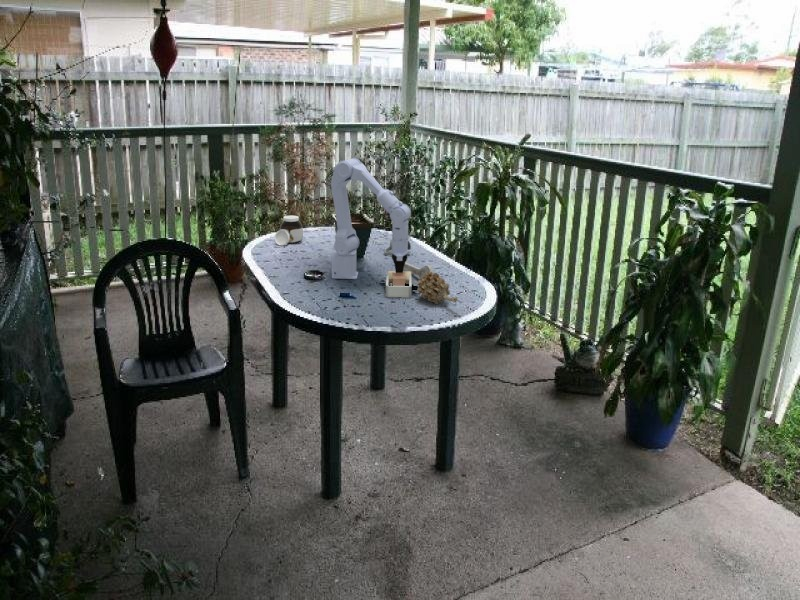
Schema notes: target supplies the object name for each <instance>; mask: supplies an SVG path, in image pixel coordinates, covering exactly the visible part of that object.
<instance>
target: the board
mask: <svg viewBox="0 0 800 600" xmlns="http://www.w3.org/2000/svg"><path fill="white" fill-rule="evenodd" d="M386 272H387V274H386V276H387V275H389V283H392V273H396V270H387V271H386ZM403 273H405V278H406V280H405V283H406V284H409V276H411V277H412V273H411V271H405V270H403Z"/></svg>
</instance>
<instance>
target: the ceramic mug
mask: <svg viewBox="0 0 800 600" xmlns="http://www.w3.org/2000/svg"><path fill="white" fill-rule="evenodd" d="M391 250H392V239H391V240H390V242H389V246H388V247H387V248H386V249H384V251H383V252H384V255H385V256H392V255H394V254H393V253H392V252H391ZM408 250H411V251H412V245H411V242H410V240H408ZM408 254H409V253H407V255H408Z"/></svg>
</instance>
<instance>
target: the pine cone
mask: <svg viewBox="0 0 800 600" xmlns="http://www.w3.org/2000/svg"><path fill="white" fill-rule="evenodd" d="M417 282H418V283H417V286H418V287H417V290H416V291H417V292H418V293H419V294H421V297H422V298H423V299H425V300H426V299H427V301H428V302H430V303H432V302H434V304H435V305H439V304H440V303H441V302H442V303H443V302H444V301H448V302H453V303H457V301H458V296H455V297H451V296H449V295H450V290H449V288H450V285H449V284H448V283H447V282H446V281H445V279H444V278H443V276H442V277H440V275H439V273H437V272H434V274H433V273H432V272H427V273H424V275H422V276H421V278H420V277H419V279H418V281H417Z"/></svg>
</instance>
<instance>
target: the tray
mask: <svg viewBox="0 0 800 600" xmlns="http://www.w3.org/2000/svg"><path fill="white" fill-rule="evenodd" d="M412 282H413V281H412V275H411V276H409V286H389V275H387V274H386V281H385V298H398V297H401V298H402V299H404V298H405V299H406V298H407V299H409V298H410V299H412Z"/></svg>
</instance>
